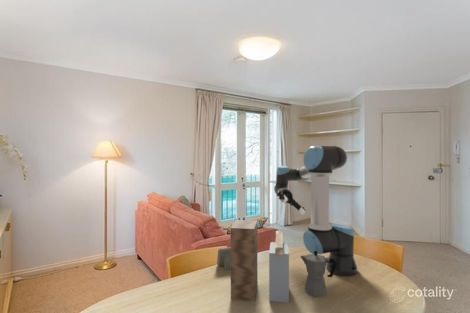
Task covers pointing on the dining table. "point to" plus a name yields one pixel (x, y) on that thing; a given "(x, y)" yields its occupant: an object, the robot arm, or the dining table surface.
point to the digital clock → (224, 257)
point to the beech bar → (279, 243)
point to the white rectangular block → (279, 274)
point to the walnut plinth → (244, 260)
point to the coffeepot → (317, 273)
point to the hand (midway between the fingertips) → (295, 207)
